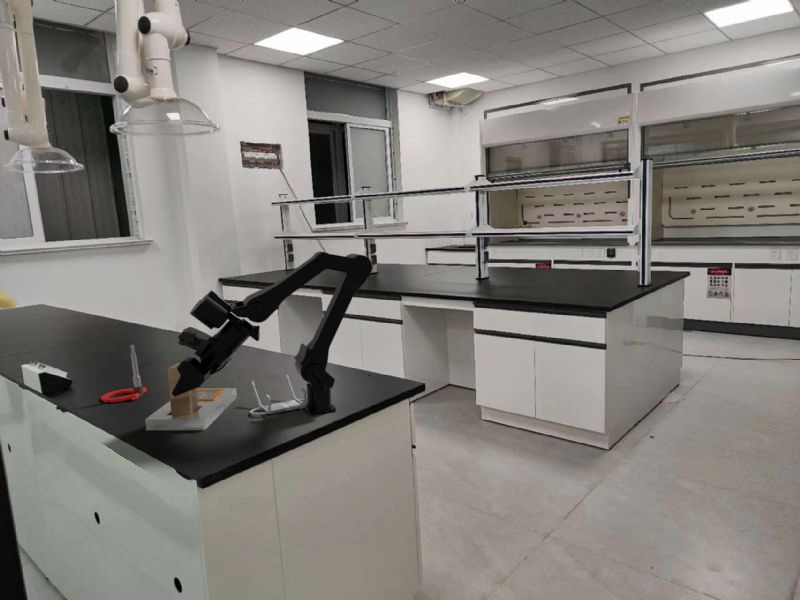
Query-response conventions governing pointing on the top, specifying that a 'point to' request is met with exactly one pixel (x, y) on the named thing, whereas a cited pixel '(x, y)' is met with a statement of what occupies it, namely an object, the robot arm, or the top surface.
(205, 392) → the grey peg hole board
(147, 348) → the top surface
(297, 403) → the wall mount rack
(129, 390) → the tow hook
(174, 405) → the peg
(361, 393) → the top surface
